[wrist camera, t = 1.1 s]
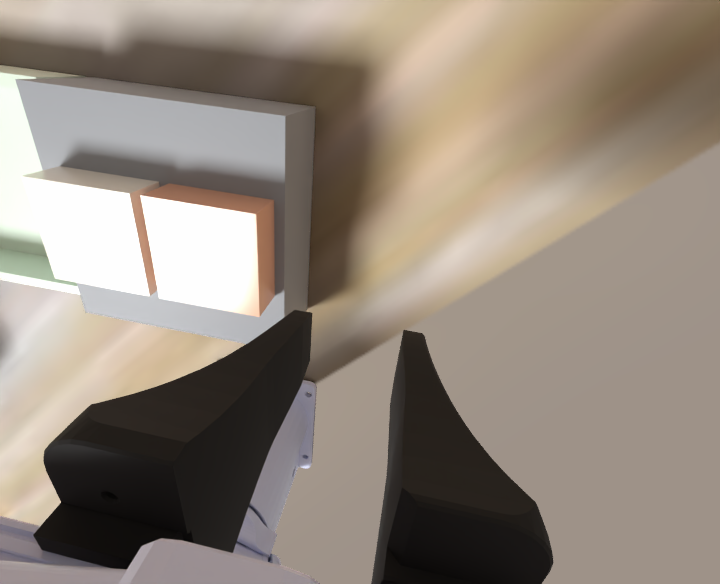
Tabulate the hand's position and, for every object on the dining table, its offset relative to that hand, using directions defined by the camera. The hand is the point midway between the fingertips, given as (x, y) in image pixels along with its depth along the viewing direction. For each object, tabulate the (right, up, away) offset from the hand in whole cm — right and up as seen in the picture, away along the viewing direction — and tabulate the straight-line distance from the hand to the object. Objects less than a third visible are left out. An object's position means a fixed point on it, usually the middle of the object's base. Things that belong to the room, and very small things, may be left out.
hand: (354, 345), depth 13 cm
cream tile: (-12, +5, +6) cm, 14 cm away
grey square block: (-8, +7, +10) cm, 15 cm away
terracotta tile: (-6, +4, +6) cm, 10 cm away
